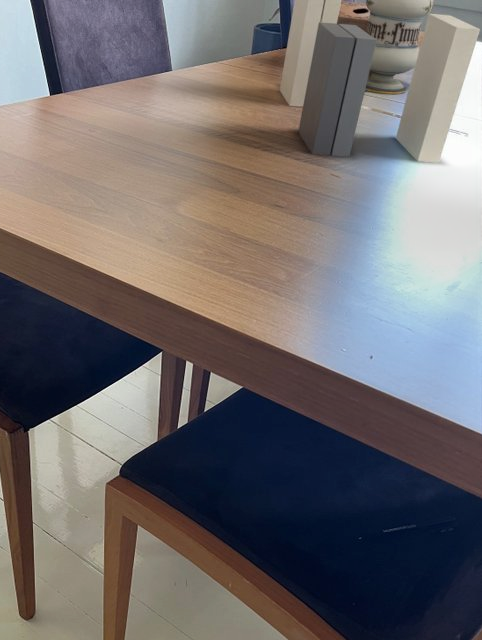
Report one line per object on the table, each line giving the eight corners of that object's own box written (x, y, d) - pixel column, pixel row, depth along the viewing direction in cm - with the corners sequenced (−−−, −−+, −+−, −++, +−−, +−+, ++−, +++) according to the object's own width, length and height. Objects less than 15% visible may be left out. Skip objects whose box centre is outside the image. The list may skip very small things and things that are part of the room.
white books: (307, 92, 132) (328, -18, 122) (319, 108, 124) (343, -10, 113) (279, 90, 132) (298, -21, 122) (289, 106, 124) (310, -12, 113)
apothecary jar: (335, 80, 142) (358, -29, 131) (386, 79, 146) (412, -27, 135) (372, 96, 134) (400, -20, 122) (424, 95, 138) (456, -18, 126)
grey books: (331, 139, 109) (356, 25, 100) (348, 163, 100) (376, 39, 91) (297, 137, 109) (318, 22, 99) (310, 160, 100) (335, 36, 91)
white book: (413, 145, 110) (450, 15, 99) (437, 169, 101) (480, 29, 90) (393, 144, 109) (428, 13, 99) (415, 167, 101) (456, 27, 90)
